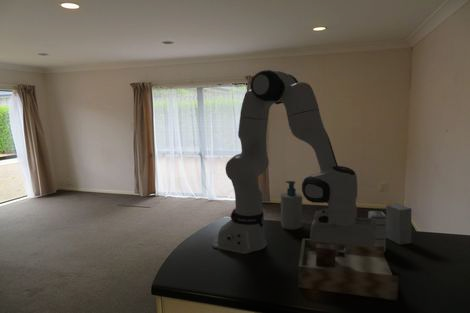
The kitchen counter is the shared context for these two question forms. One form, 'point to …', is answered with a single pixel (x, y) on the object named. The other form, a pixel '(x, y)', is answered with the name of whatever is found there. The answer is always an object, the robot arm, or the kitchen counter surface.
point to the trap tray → (349, 272)
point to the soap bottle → (291, 208)
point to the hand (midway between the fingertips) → (340, 256)
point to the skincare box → (398, 223)
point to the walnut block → (325, 255)
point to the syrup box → (379, 227)
